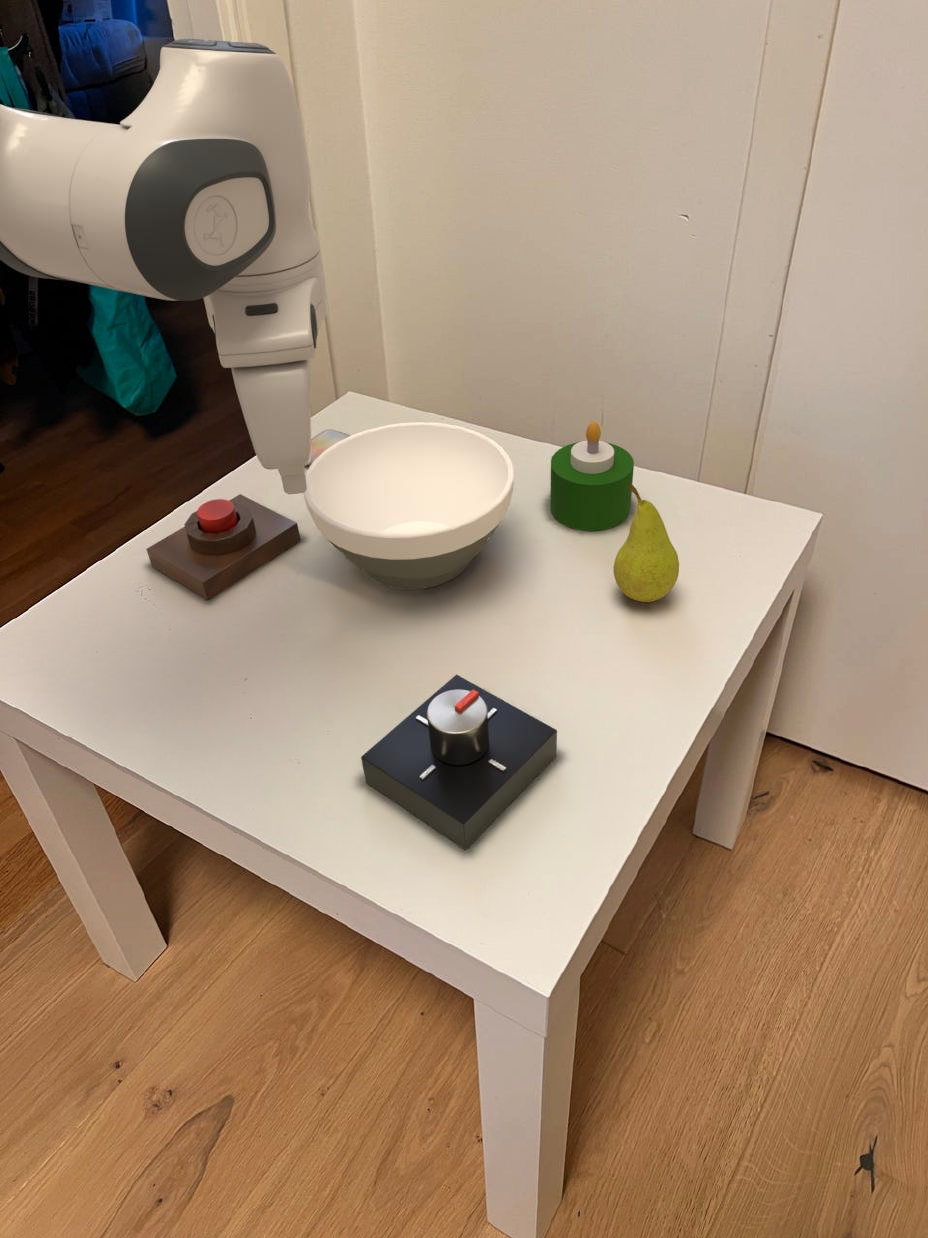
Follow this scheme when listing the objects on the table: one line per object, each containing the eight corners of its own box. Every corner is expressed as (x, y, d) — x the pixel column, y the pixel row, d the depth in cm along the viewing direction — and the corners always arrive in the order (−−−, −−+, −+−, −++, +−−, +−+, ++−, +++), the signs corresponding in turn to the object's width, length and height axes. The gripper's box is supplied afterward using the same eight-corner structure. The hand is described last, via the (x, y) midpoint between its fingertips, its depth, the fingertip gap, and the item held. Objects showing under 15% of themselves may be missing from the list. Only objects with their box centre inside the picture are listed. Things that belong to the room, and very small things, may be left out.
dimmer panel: (465, 850, 67) (463, 823, 65) (365, 782, 72) (360, 755, 70) (556, 756, 73) (557, 728, 71) (458, 699, 78) (456, 672, 76)
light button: (216, 539, 91) (212, 524, 90) (193, 526, 93) (189, 511, 91) (245, 521, 93) (241, 506, 92) (222, 509, 95) (218, 494, 93)
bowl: (549, 530, 95) (550, 448, 89) (450, 647, 83) (443, 561, 76) (389, 483, 103) (380, 405, 97) (277, 583, 91) (258, 501, 85)
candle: (586, 541, 93) (590, 453, 87) (534, 505, 99) (533, 420, 92) (647, 510, 97) (655, 424, 90) (593, 477, 102) (596, 393, 96)
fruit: (687, 604, 85) (702, 493, 78) (631, 623, 84) (641, 512, 76) (653, 569, 90) (665, 461, 82) (599, 587, 88) (606, 477, 80)
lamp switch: (207, 600, 89) (198, 567, 87) (151, 566, 94) (140, 533, 91) (301, 540, 96) (294, 507, 93) (244, 510, 101) (236, 479, 98)
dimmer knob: (463, 775, 68) (460, 740, 65) (418, 747, 70) (413, 712, 68) (500, 738, 70) (499, 703, 68) (456, 712, 73) (453, 677, 70)
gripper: (226, 248, 76) (258, 403, 85) (215, 356, 61) (254, 532, 70) (304, 241, 77) (327, 396, 86) (312, 346, 61) (339, 521, 70)
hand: (295, 458), depth 78 cm, fingers open, 8 cm apart
